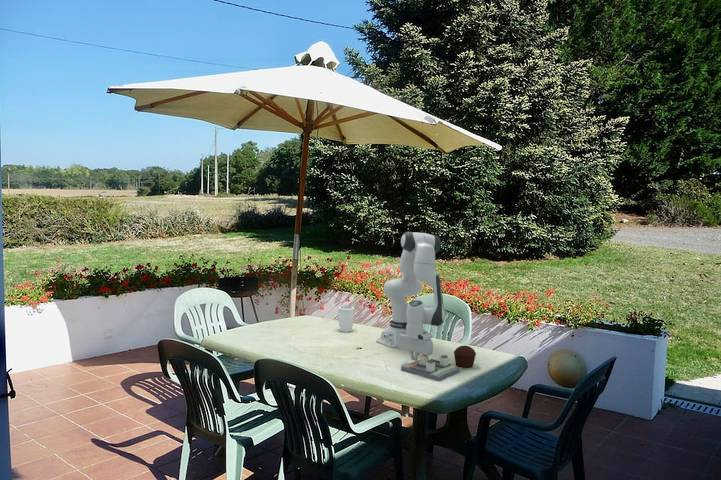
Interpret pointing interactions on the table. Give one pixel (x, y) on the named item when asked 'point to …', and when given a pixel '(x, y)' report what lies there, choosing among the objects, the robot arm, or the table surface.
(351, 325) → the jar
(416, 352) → the robot arm
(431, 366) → the breaker
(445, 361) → the breaker
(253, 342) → the table surface
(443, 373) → the panel
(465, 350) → the muffin
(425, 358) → the breaker mid
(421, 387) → the table surface
